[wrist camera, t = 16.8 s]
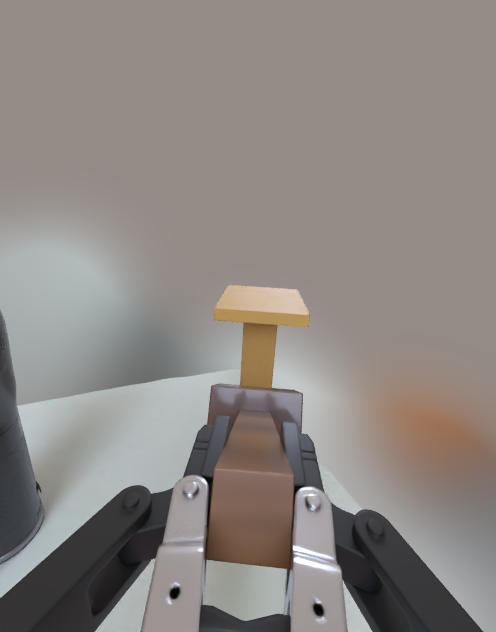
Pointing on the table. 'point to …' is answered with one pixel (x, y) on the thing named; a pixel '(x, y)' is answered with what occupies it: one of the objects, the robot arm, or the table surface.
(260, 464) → the walnut mallet
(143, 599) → the table surface
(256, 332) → the pedestal
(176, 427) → the table surface
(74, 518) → the table surface
